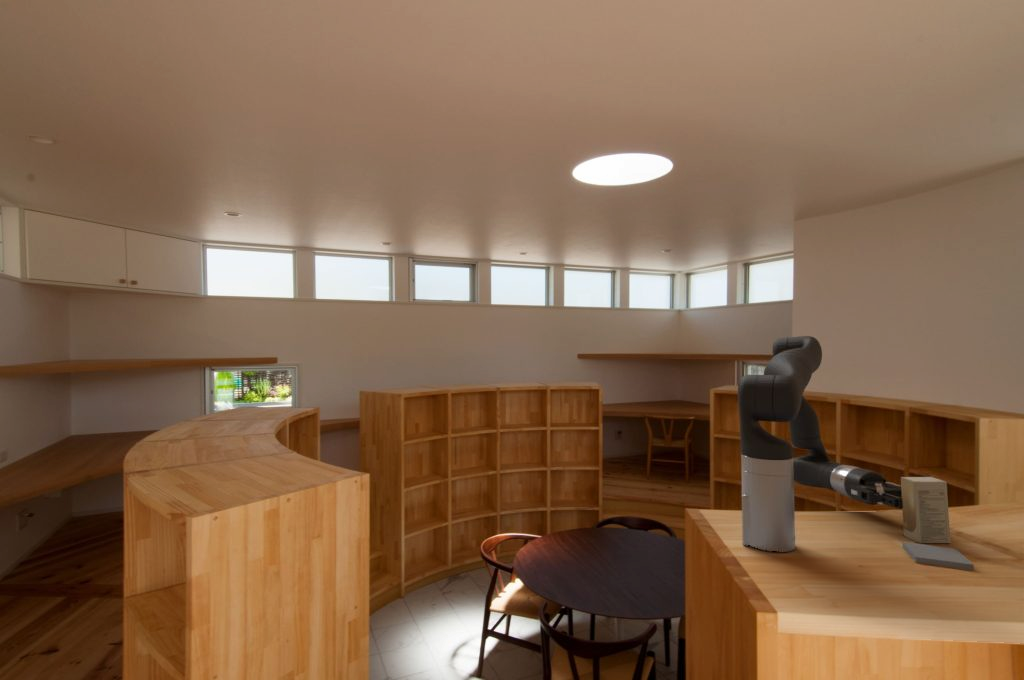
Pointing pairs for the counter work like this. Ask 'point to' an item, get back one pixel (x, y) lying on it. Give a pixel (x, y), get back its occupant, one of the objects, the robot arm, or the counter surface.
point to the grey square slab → (937, 556)
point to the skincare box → (925, 509)
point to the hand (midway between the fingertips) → (920, 503)
